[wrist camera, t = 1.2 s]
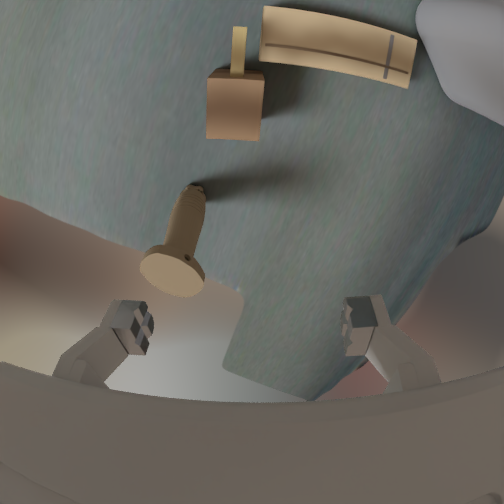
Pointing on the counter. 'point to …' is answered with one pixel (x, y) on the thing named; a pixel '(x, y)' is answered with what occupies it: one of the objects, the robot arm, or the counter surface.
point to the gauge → (235, 97)
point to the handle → (179, 248)
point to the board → (335, 45)
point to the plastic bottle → (466, 51)
